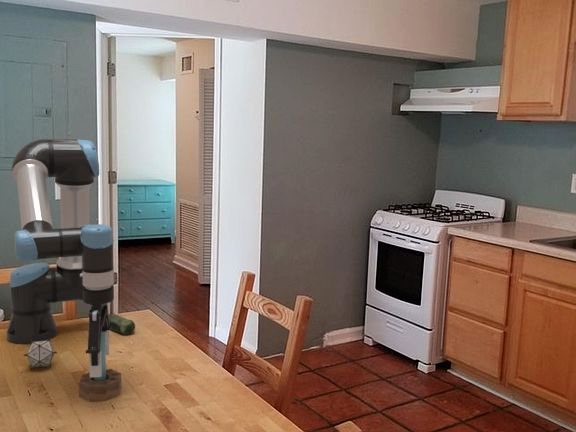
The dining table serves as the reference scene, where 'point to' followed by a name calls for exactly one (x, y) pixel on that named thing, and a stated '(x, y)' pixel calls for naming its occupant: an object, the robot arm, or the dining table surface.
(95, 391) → the bead
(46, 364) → the game die
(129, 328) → the vegetable
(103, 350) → the teal rounded stick
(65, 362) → the dining table surface
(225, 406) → the dining table surface
